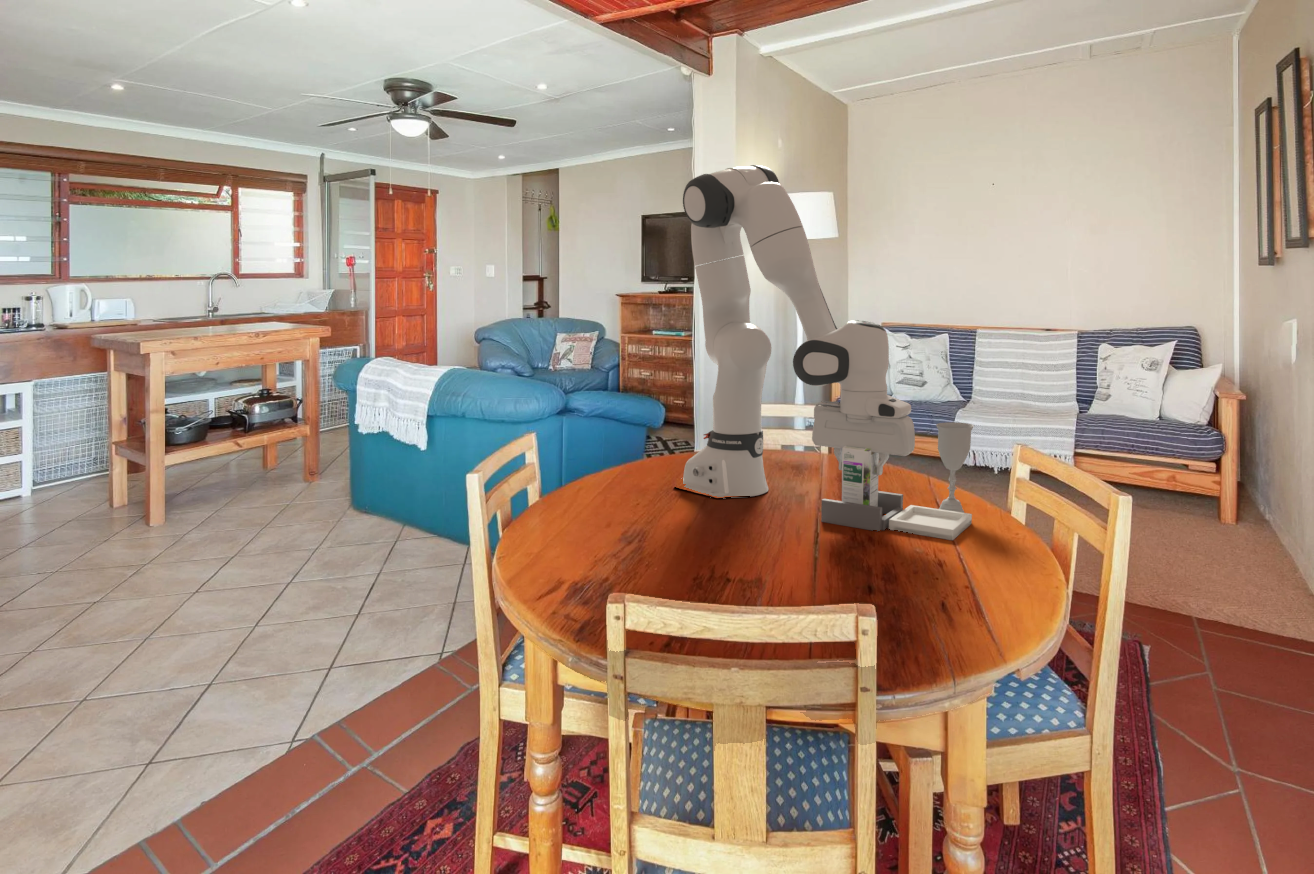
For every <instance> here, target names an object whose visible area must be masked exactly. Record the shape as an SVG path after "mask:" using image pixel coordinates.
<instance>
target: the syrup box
mask: <svg viewBox="0 0 1314 874" xmlns="http://www.w3.org/2000/svg"><path fill="white" fill-rule="evenodd" d="M879 459H880V458H879V453H875V452H872V451H871V449H867V448H859V447H851V446H844V447H843V448H842V470H841V501H843V502H850V503H856V504H863V505H869V506H876V507H878V491H879V475H874V474H872V471H873V466H874V465H878V463H879V462H880V460H879Z"/></svg>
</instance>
